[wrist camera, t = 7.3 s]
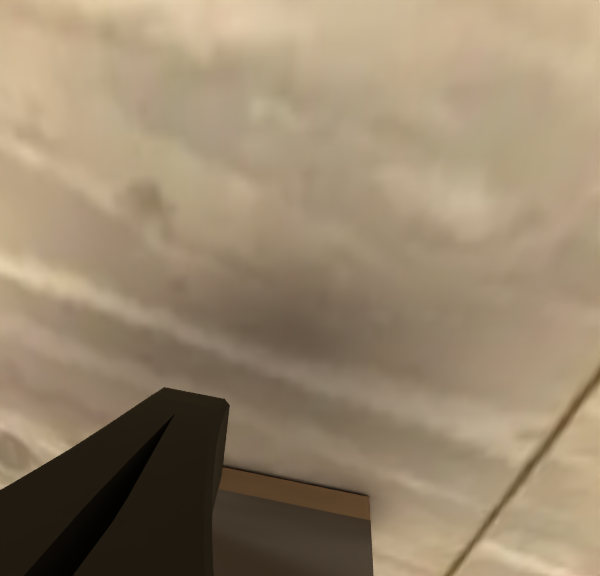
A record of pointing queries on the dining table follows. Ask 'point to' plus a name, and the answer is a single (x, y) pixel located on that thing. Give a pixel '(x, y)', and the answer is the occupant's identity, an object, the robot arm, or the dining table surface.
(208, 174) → the dining table surface
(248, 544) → the sliding board
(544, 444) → the dining table surface
